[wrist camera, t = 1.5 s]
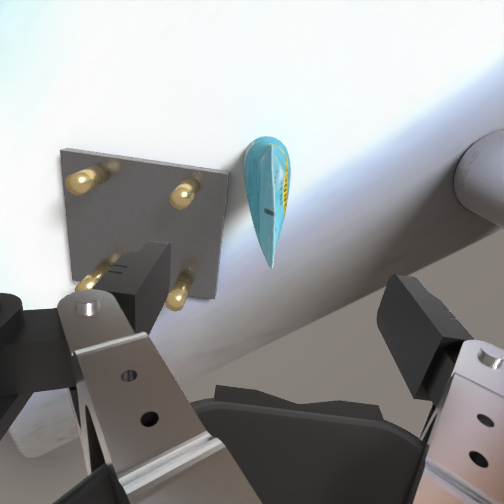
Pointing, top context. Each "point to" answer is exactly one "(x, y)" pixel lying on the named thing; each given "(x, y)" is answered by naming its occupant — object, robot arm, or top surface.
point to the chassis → (144, 218)
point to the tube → (267, 190)
